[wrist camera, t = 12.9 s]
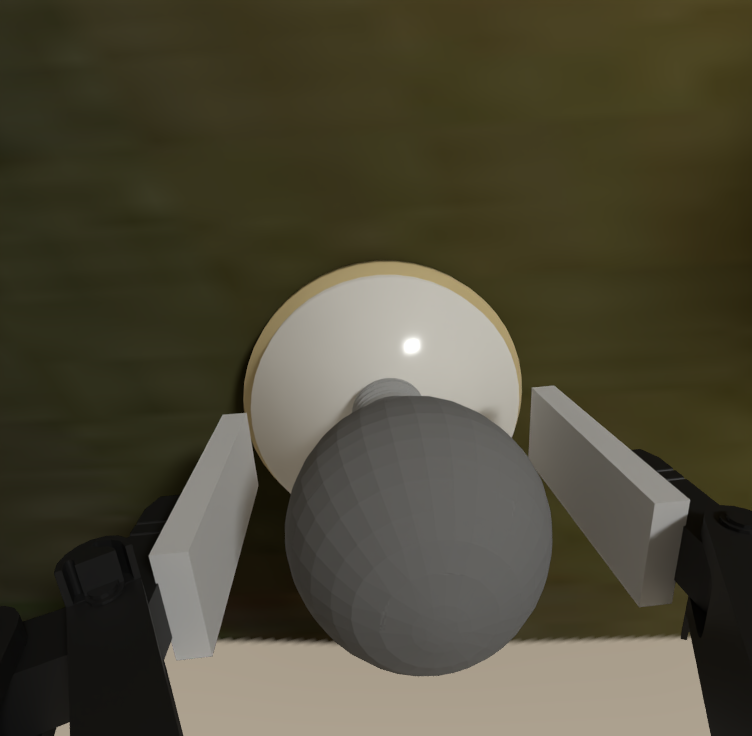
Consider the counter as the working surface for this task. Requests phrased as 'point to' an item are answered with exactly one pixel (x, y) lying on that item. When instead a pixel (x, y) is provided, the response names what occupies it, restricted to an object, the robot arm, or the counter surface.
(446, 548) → the light bulb
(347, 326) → the white plate
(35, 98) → the counter surface
